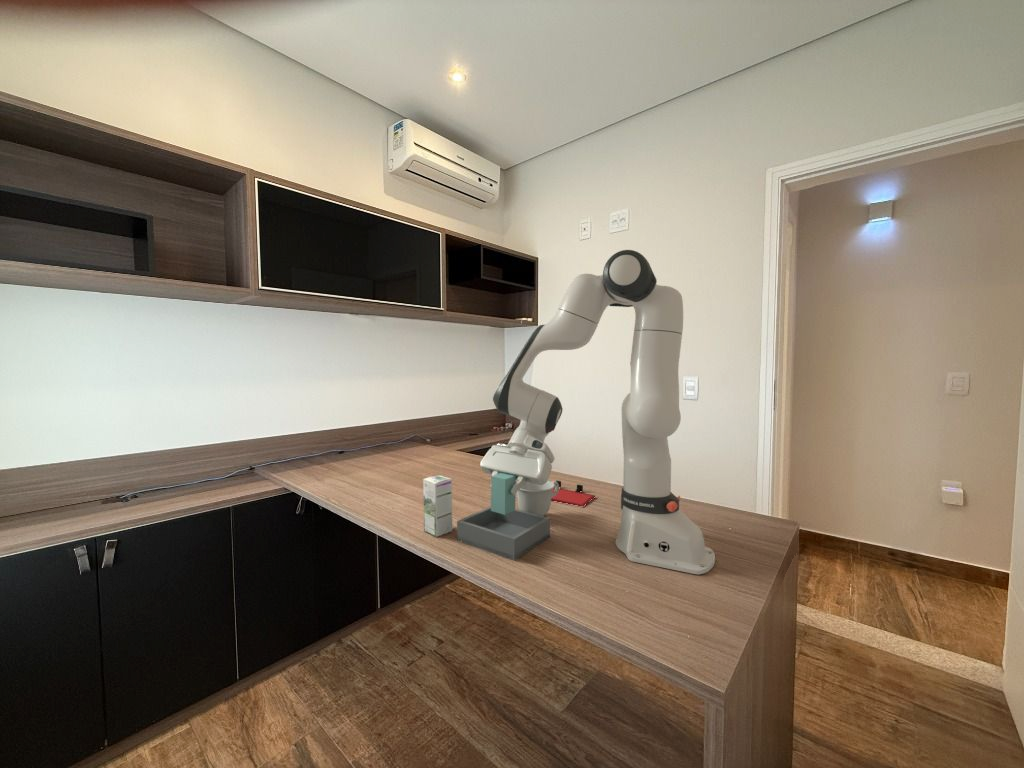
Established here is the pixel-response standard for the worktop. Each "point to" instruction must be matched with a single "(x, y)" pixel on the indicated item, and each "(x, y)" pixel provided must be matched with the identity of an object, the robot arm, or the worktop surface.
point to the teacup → (536, 497)
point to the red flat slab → (572, 496)
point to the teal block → (502, 493)
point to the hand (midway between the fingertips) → (501, 491)
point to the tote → (504, 531)
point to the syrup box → (437, 505)
